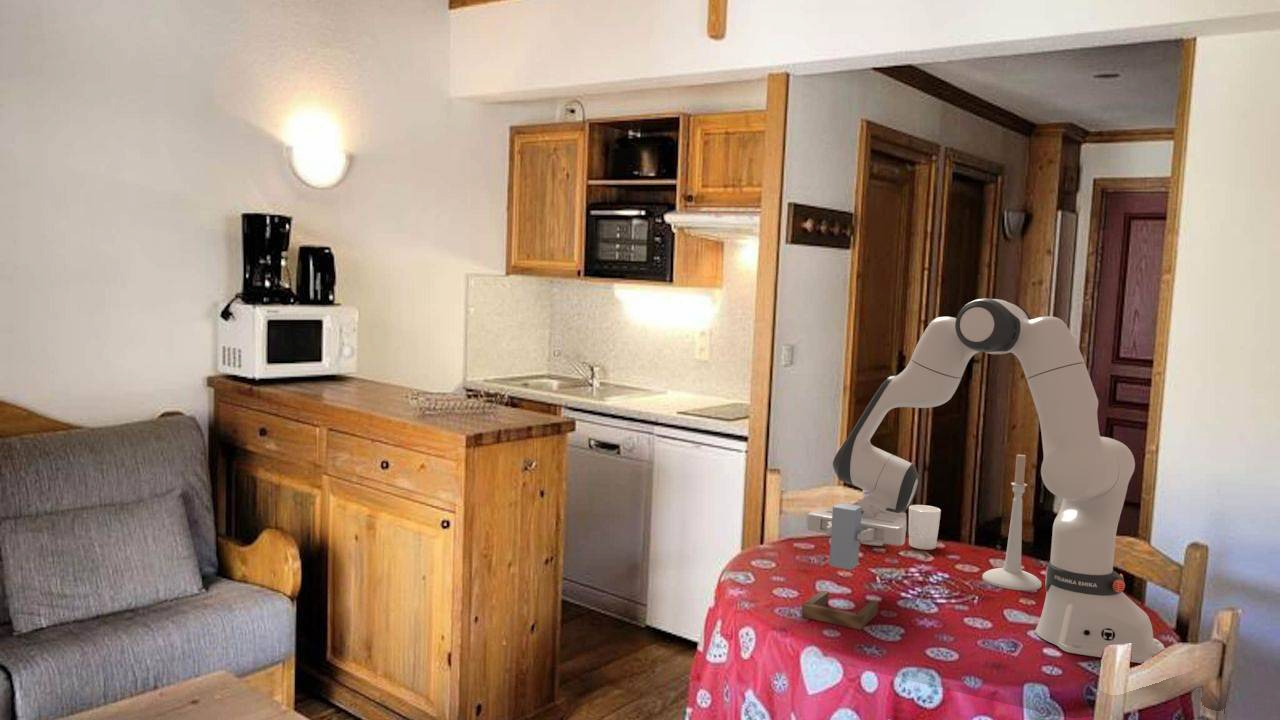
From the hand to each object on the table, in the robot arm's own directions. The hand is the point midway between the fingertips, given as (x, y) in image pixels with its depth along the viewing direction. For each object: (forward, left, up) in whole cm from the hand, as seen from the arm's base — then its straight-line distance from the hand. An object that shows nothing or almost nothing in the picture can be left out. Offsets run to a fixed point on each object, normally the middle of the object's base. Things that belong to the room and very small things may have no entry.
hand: (844, 534), depth 196 cm
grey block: (0, -1, -6) cm, 7 cm away
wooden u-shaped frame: (0, 0, -17) cm, 17 cm away
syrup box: (+12, -61, -17) cm, 64 cm away
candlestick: (-25, -48, -17) cm, 57 cm away
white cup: (0, -66, -17) cm, 68 cm away
